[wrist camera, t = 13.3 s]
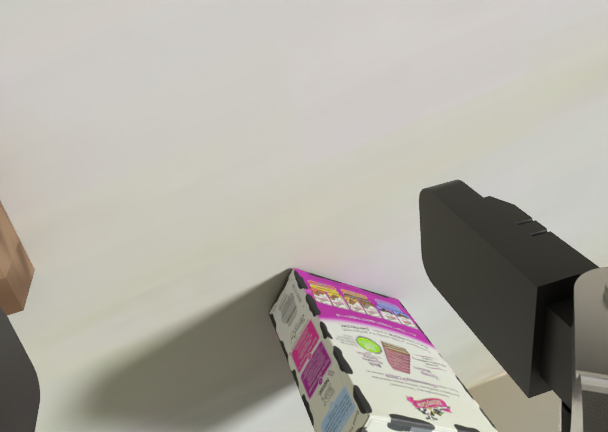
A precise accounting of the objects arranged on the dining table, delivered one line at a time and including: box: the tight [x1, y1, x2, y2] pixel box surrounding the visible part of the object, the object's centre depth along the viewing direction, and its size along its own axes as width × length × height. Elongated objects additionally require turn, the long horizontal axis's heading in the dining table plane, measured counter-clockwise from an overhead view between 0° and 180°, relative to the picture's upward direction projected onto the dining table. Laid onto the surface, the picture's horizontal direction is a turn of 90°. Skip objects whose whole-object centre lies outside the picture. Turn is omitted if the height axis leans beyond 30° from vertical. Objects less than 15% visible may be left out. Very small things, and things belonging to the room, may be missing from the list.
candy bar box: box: [269, 268, 498, 432], centre depth 41 cm, size 11×5×16 cm, turn 63°
